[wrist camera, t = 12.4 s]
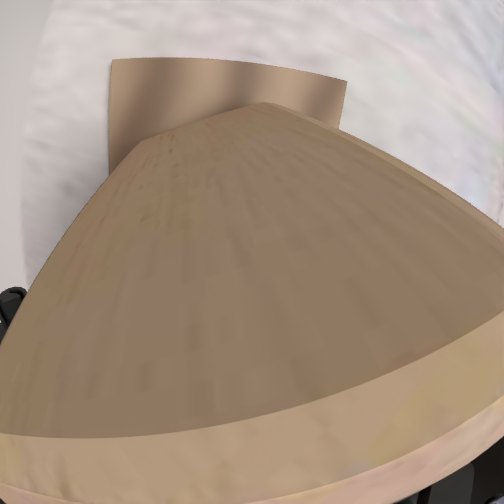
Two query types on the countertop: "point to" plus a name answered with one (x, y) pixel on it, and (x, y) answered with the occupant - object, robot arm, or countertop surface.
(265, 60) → the countertop surface
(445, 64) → the countertop surface
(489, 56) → the countertop surface
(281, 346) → the wooden block
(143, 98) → the walnut board
